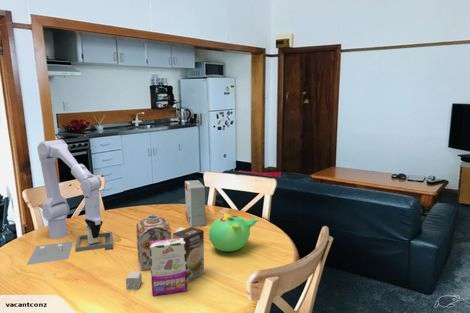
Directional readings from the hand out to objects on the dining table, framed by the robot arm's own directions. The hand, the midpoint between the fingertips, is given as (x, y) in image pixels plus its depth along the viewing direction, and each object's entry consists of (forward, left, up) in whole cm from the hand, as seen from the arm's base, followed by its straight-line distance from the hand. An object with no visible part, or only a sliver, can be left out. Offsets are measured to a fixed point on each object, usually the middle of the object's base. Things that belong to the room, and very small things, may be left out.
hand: (94, 236), depth 147 cm
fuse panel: (+4, -16, -4) cm, 17 cm away
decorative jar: (+25, +22, -4) cm, 34 cm away
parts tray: (0, 0, -4) cm, 4 cm away
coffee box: (+40, +32, -4) cm, 51 cm away
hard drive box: (-14, +47, -4) cm, 49 cm away
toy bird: (+24, +53, -4) cm, 58 cm away
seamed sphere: (+11, +36, -4) cm, 38 cm away
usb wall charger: (+42, +13, -4) cm, 44 cm away
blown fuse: (0, 0, -2) cm, 2 cm away
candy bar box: (+47, +24, -4) cm, 53 cm away
